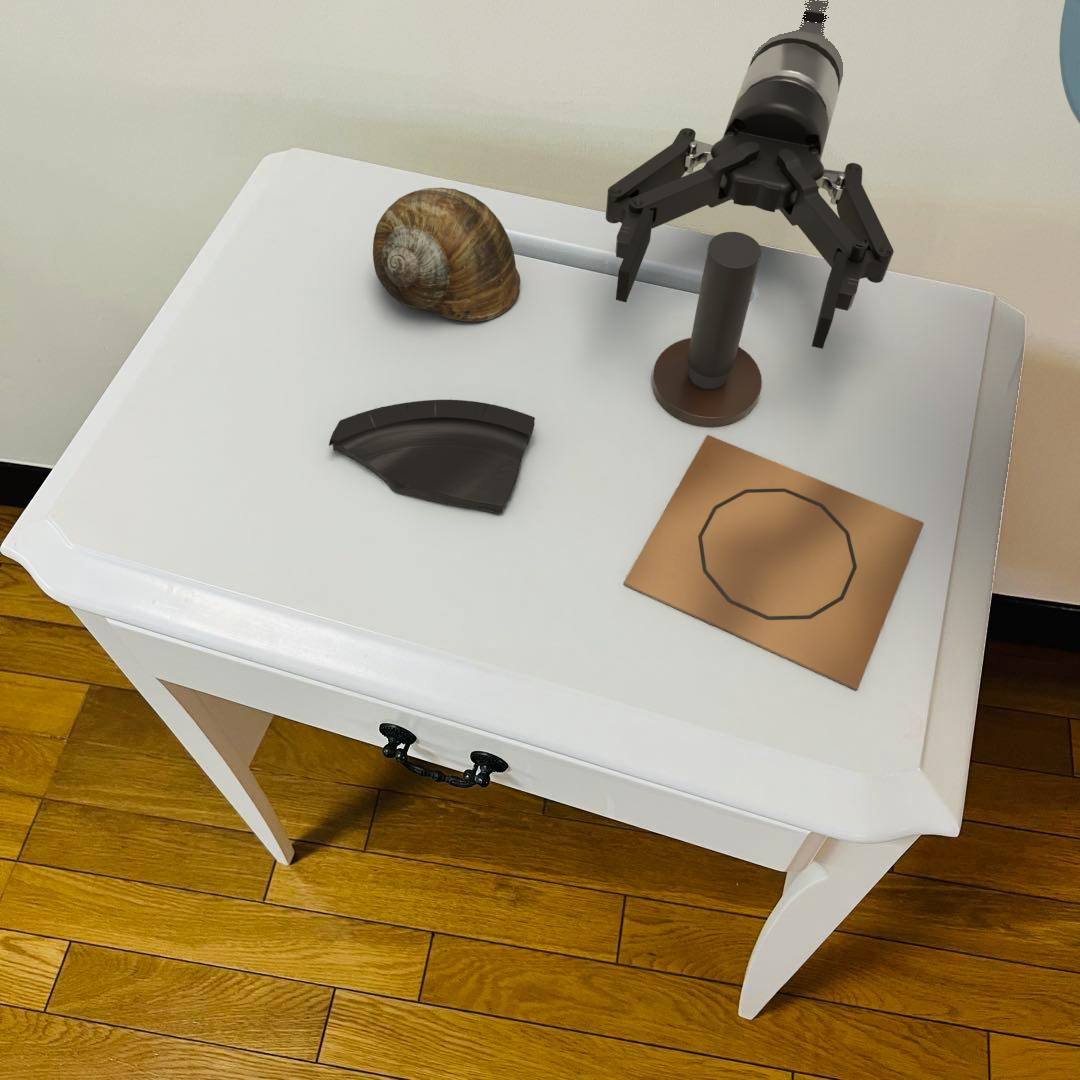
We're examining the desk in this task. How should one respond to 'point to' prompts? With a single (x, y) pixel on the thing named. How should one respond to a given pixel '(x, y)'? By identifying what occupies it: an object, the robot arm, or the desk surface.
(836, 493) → the paper sheet
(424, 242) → the seashell
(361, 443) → the curved wedge
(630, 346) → the desk surface
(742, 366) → the coaster
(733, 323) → the dot marker
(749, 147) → the robot arm
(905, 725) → the desk surface
